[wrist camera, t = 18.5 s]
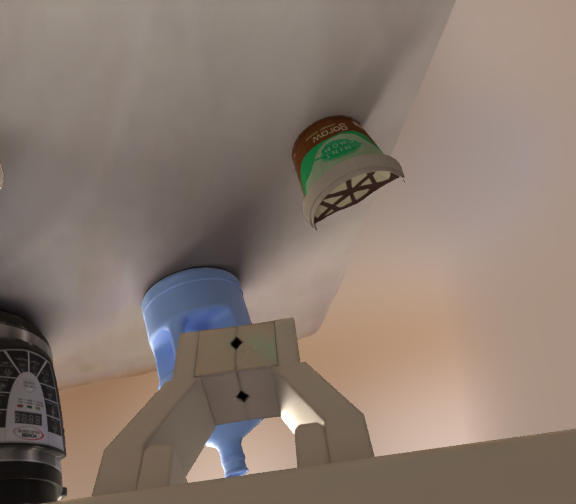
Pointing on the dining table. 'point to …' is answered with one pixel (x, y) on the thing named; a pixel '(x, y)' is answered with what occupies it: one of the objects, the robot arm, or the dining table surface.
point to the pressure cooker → (29, 417)
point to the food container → (339, 166)
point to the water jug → (194, 317)
